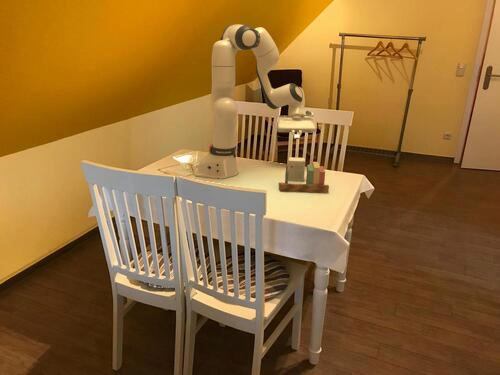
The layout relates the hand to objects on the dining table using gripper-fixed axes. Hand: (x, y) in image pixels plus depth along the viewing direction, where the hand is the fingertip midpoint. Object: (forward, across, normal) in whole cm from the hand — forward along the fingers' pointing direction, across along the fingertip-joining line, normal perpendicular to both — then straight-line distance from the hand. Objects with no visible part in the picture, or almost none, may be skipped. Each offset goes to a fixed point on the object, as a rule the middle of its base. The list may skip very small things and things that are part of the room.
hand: (296, 138), depth 215 cm
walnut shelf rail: (+33, +3, -10) cm, 35 cm away
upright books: (+30, +8, -6) cm, 31 cm away
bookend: (+30, -7, -6) cm, 31 cm away
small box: (+22, 0, +2) cm, 22 cm away
